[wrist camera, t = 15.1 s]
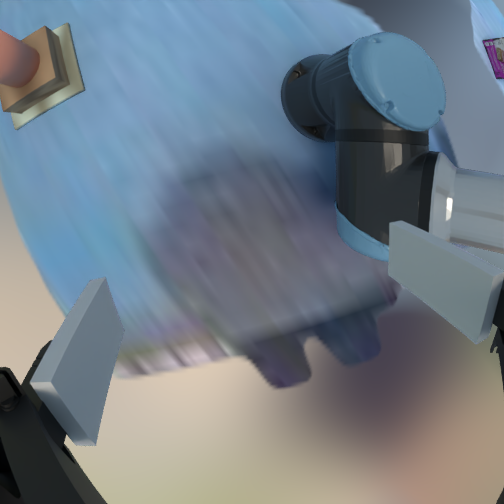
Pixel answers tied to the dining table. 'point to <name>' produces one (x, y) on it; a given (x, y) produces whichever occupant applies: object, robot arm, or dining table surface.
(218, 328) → the dining table surface
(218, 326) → the dining table surface
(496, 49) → the candy bar box
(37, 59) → the pink rounded cylinder
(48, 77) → the tower base
